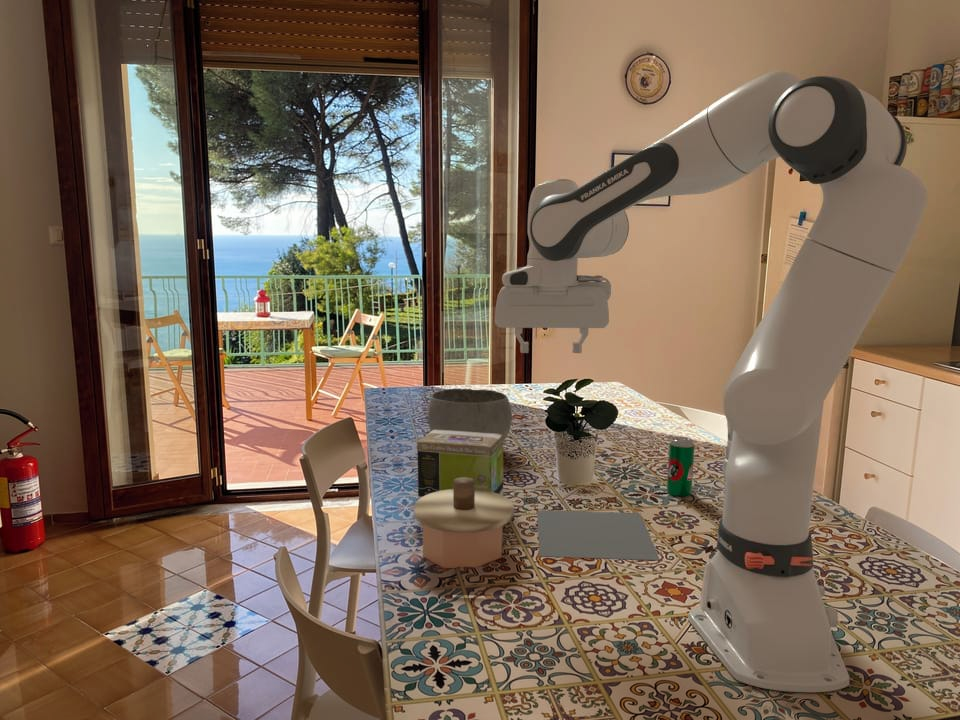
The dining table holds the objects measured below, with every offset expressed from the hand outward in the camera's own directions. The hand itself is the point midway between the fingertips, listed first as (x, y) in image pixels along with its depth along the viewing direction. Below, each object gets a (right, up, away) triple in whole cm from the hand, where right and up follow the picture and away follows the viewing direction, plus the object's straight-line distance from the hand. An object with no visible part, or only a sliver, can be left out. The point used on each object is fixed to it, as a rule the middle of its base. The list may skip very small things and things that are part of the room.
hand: (550, 352), depth 127 cm
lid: (-15, -27, -7) cm, 32 cm away
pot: (-16, -34, -6) cm, 38 cm away
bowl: (-15, -25, +49) cm, 57 cm away
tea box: (-16, -31, +13) cm, 38 cm away
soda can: (+29, -30, +22) cm, 47 cm away
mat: (+8, -33, +1) cm, 34 cm away
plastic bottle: (+45, -28, +31) cm, 61 cm away
